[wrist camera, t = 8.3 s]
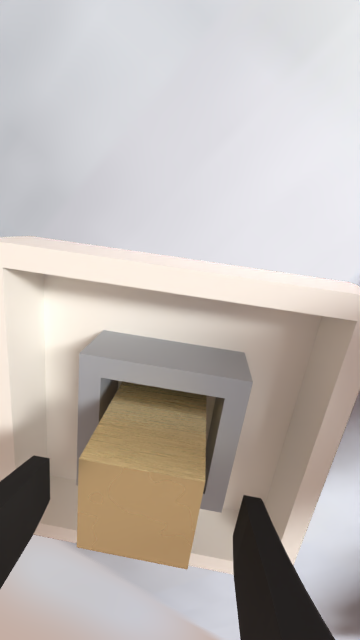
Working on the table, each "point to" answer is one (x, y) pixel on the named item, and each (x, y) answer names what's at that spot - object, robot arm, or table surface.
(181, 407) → the wooden plug
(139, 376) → the walled box
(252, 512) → the robot arm
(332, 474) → the table surface
